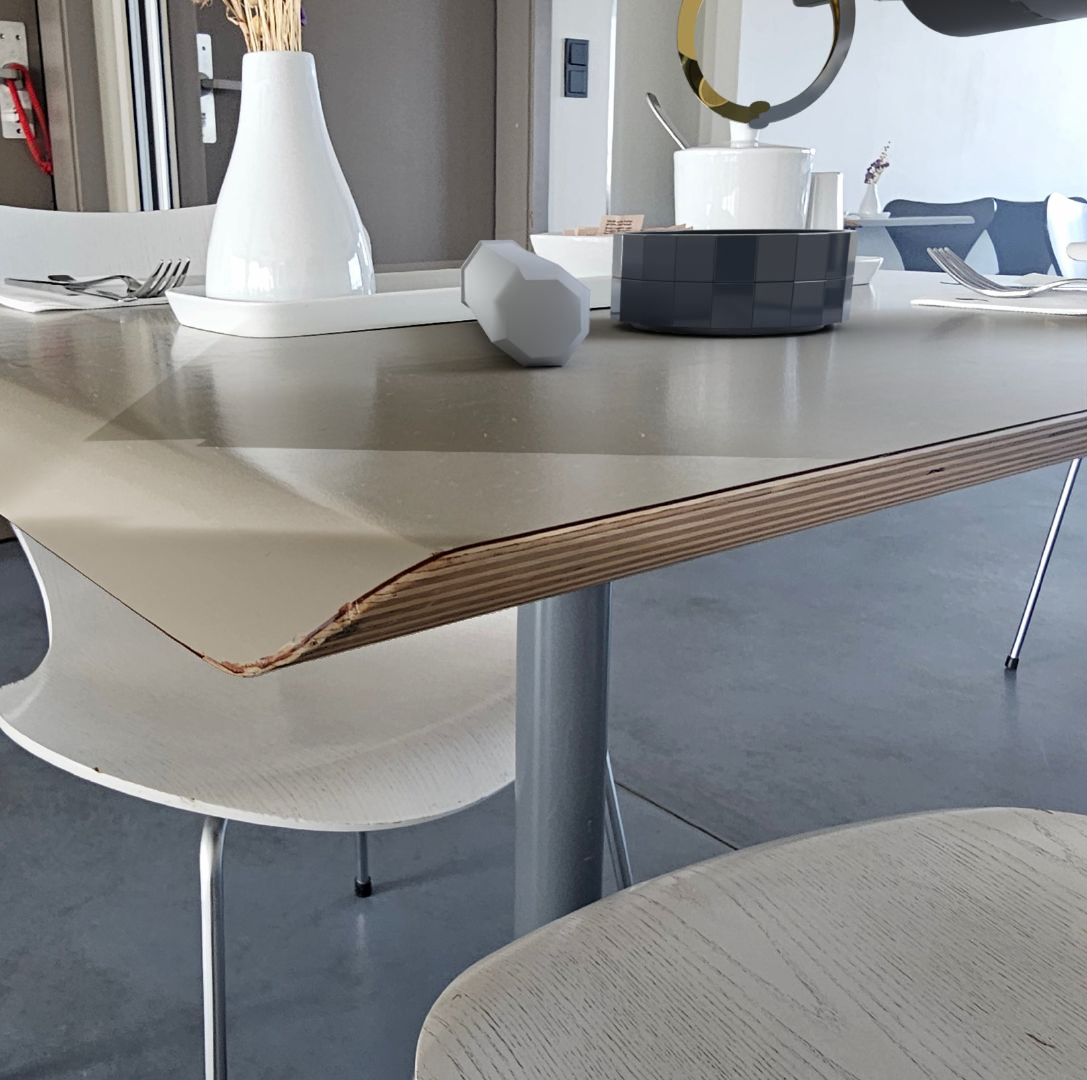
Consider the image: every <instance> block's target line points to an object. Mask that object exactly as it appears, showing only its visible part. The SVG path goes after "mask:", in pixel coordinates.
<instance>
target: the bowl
mask: <svg viewBox="0 0 1087 1080" xmlns="http://www.w3.org/2000/svg"><path fill="white" fill-rule="evenodd" d="M858 241H859V231H858V230H856V229H855V230H854V229H837V228H835V229H834V228H833V229H832V228H713V229H710V228H709V229H706V228H705V229H667V230H665V229H664V230H663V229H662V230H661V229H660V230H635V231H634V230H633V231H632V230H630V231H616V232H614V233H612V251H611V252H612V254H611V256H612V257H611V280H610V281H611V283H610V284H611V285H610V287H611V288H610V309H609V310H610V312H609V315H610V316H609V318H610V319H611V320H614V321H616V322H619V323H625V324H631V327H632V328H635V329H637V330H642V331H647V332H654V333H663V334H675V335H692V336H693V335H695V336H739V337H740V336H773V335H774V336H775V335H776V336H777V335H791V334H803V333H810V332H815V331H819V330H822V329H824V328H825V326H828V325H834V324H840V323H843V322H847V321H848V320H850V314H851V305H852V298H853V297H852V295H853V287H854V277H855V267H856V260H857V259H856V258H857V250H858V249H857V248H858Z"/></svg>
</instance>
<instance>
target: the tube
mask: <svg viewBox="0 0 1087 1080" xmlns="http://www.w3.org/2000/svg"><path fill="white" fill-rule="evenodd" d="M461 265H462V266H461V267H460V303H461V304H463V305H464V306H465V307H467V308H468V309H469V310H470V312H471V313H472V314H473V316H474V317H475V319H476V320H477V322H478V323H479V325H480V327H481V328H482V329H483V331H484V332H485V334H486V336H487V337H488V339H489V340H490V342H491V343H492V344H493V345H495V346H496V347H497V348H499V349H500V350H501V351H503V352H504V353H506V354H507V355H508V356H510V357H511V358H512V359H513V360H515V361H516V362H517V363H518V364H520V365H521V366H522V367H562V366H563V367H564V366H565V365H566V364H567V362H568V361H569V360H570V359H571V358H572V356H573V354H574V353H575V352H576V351H577V349H578V348H579V347H580V345H581V344H582V343H583V341H584V340H585V338H586V337H587V336H588V335H589V333H590V316H591V315H590V313H591V312H590V311H591V289H590V288H589V287H588V286H586V285H585V284H584V283H583V282H581V281H580V280H579V279H577V278H576V277H575V276H573V275H572V273H570V272H569V271H567V270H566V269H565V268H564V267H562V266H561V265H560V264H558V263H556V262H555V261H551V260H549V259H547V258H544V257H542V256H541V255H538V254H535V253H534V252H531V251H530V250H527V249H525V248H523V247H522V246H521V245H520V244H518V243H517V242H516V241H515V240H514V239H491V240H484V239H481V240H479V241H478V242H477V244H476V246H475V247H474V249H473V250H472V251H471V252H470V254H469V255H468V257H467V258H466V259H465V261H464V262H463V263H462V264H461Z"/></svg>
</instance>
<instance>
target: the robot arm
mask: <svg viewBox="0 0 1087 1080" xmlns="http://www.w3.org/2000/svg"><path fill="white" fill-rule="evenodd" d="M791 1H792V4H793V6H794V7H797V8H816V7H820V6H824V5H825V6H826V5H830V4H829V2H828V0H791ZM873 1H875V2H897V1H898V2H899V1H900V2H902V3H903V4H904V6H905V7H906V9H907V10H908V11H909V12H910V13H911V14H912V16H913V17H914V18H915V19H916V20H918V22H920V23H921V24H922V25H924V26H925V27H927V28H928V29H930V30H932V31H934V32H937V34H941V35H944V36H949V37H955V38H970V37H977V36H982V35H983V36H984V35H989V34H995V33H1000V32H1007V31H1013V30H1020V29H1025V28H1032V27H1038V26H1044V25H1051V24H1056V23H1057V24H1058V23H1063V22H1070V21H1074V20H1081V19H1086V18H1087V0H873Z"/></svg>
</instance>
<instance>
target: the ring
mask: <svg viewBox="0 0 1087 1080" xmlns="http://www.w3.org/2000/svg"><path fill="white" fill-rule="evenodd" d="M703 2H704V0H682V2H681V5H680V8H679V13H678V17H677V23H676V24H677V25H676V48H677V56H678V60H679V64H680V67H681V70H682V74H683V75H684V78H685V80H686V82H687V84H688V87H689V88H690V89H691V91H692V93H693V94H694V95H695V97H696V98H697V99H698V100H699V101H700V103H701V104H703V105H704V106H705V107H706V108H707V109H708V110H710V111H711V112H712V113H713V114H715V115H717V116H719V117H720V118H723V119H725V120H727V121H730V122H733V123H736V124H737V123H738V124H744V125H746V127H747V129H748V130H751V131H761V130H764V129H765V128H767V127H768V126H769V125H770V124H774V123H777V122H780V121H784V120H787V119H789V118H791V117H794V116H795V115H797V114H799V113H802V112H803V111H804V110H806V109H808V108H809V107H810V106H812V105H813V103H815V102H816V101H817V100H819V98H820V97H822V96H823V94H825V92H826V91H827V90H828V89H829V87H830V86H831V85H832V84H833V82H834V81H835V79H836V77H837V76H838V75H839V72H840V70H841V69H842V67H843V65H844V63H845V61H846V59H847V56H848V55H849V52H850V48H851V46H852V42H853V38H854V34H855V29H856V18H857V17H856V15H857V13H856V12H857V11H856V9H857V8H856V7H857V6H856V0H828V2H829V4H828V5H829V7H830V11H831V15H832V23H833V25H832V26H833V32H832V39H831V44H830V49H829V52H828V55H827V57H826V60H825V62H824V64H823V66H822V68H821V69H820V71H819V73H818V74H817V76H816V77H815V79H814V80H813V81H812V82H811V83H810V84H809V85H808V86H807V87H806V88H805V89H804V90H803V91H801V92H800V93H799V94H798V95H796V96H794V97H792V98H791V99H788V100H787V101H784V102H782V103H778V104H776V105H775V104H774V105H771V104H770V102H768V101H765V100H756V101H753V102H751V103H750V105H742V104H738V103H736V102H733V101H730V100H728V99H726V98H725V97H723V96H722V95H720V94H719V93H718V92H717V91H715V89H714V88H713V87H712V86H711V85H710V83H708V81H707V79H706V77H705V76H704V74H703V72H702V71H701V68H700V66H699V62H698V58H697V53H696V47H695V29H696V23H697V18H698V15H699V12H700V9H701V6H702V4H703Z"/></svg>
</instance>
